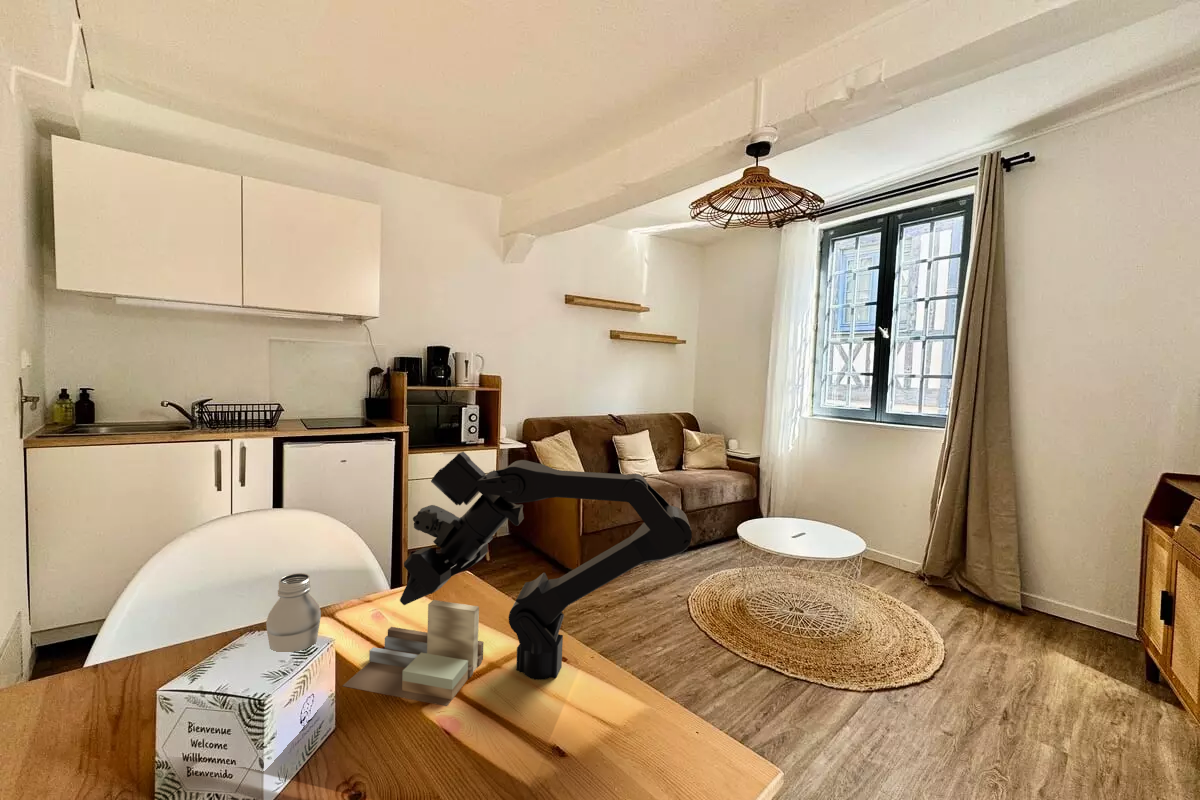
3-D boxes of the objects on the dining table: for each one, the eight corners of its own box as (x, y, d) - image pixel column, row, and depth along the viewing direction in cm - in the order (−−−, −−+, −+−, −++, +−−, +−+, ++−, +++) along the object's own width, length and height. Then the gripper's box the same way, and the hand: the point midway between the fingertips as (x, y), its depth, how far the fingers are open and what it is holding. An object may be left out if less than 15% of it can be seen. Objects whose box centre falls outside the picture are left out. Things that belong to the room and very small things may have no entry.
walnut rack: (483, 665, 84) (484, 641, 83) (448, 712, 72) (448, 685, 72) (389, 648, 87) (390, 626, 87) (340, 692, 75) (341, 666, 75)
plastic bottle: (261, 745, 64) (262, 593, 63) (268, 712, 70) (268, 572, 69) (319, 731, 67) (321, 585, 66) (321, 700, 73) (322, 566, 72)
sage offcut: (467, 669, 78) (468, 660, 78) (452, 689, 73) (452, 679, 73) (420, 661, 80) (421, 652, 79) (402, 680, 75) (402, 670, 75)
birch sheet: (477, 666, 81) (479, 606, 81) (472, 672, 80) (474, 611, 79) (431, 658, 83) (433, 599, 82) (426, 664, 81) (428, 604, 81)
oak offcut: (467, 679, 78) (467, 669, 78) (451, 699, 73) (452, 689, 73) (420, 670, 80) (420, 661, 80) (402, 690, 75) (402, 680, 75)
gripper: (469, 481, 91) (415, 542, 93) (414, 498, 73) (347, 574, 75) (512, 525, 90) (456, 586, 91) (467, 554, 71) (398, 630, 73)
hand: (417, 592), depth 83 cm, fingers open, 9 cm apart
